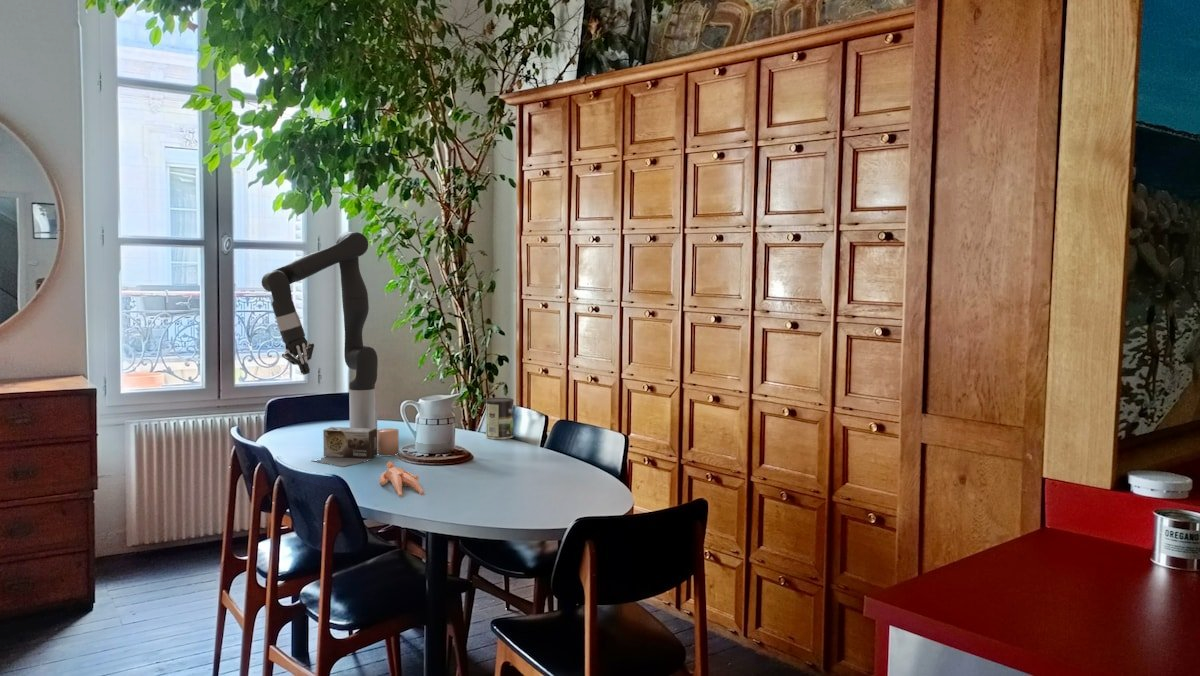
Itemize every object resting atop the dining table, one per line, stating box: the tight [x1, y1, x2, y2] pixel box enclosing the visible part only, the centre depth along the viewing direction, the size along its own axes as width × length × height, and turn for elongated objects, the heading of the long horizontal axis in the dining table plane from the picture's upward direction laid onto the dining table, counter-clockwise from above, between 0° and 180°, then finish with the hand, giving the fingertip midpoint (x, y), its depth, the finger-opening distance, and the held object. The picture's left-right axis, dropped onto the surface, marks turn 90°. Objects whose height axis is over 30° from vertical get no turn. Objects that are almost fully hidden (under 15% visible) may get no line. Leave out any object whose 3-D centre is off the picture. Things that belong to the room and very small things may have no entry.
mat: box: [317, 456, 372, 468], centre depth 280 cm, size 12×15×1 cm
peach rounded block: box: [377, 427, 400, 456], centre depth 291 cm, size 7×7×8 cm
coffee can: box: [485, 397, 514, 440], centre depth 321 cm, size 10×10×14 cm
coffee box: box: [322, 426, 378, 459], centre depth 285 cm, size 9×6×16 cm
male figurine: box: [378, 460, 425, 498], centre depth 249 cm, size 11×5×25 cm
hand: (306, 373), depth 303 cm, fingers closed
